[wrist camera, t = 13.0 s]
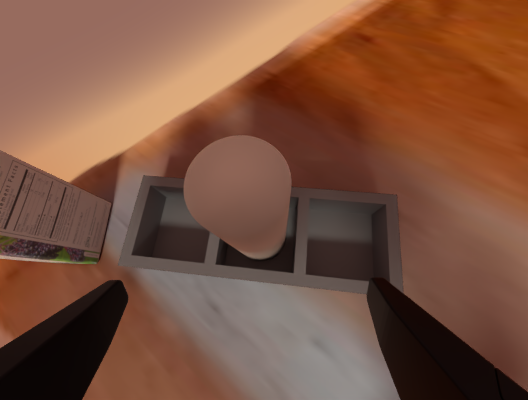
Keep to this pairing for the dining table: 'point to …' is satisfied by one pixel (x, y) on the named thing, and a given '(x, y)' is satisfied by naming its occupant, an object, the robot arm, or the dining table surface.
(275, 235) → the beige tapered cylinder
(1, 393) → the robot arm
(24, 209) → the syrup box
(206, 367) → the dining table surface
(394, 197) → the caddy
